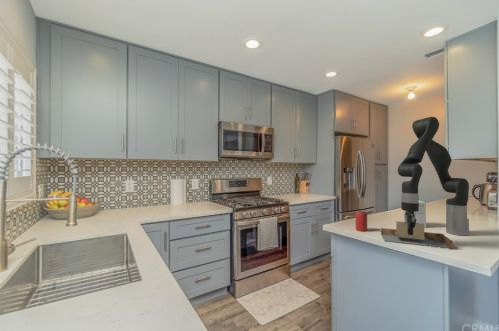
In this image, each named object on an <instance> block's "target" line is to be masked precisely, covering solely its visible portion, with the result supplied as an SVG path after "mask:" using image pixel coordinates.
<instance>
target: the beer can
mask: <svg viewBox="0 0 499 331" xmlns="http://www.w3.org/2000/svg"><path fill="white" fill-rule="evenodd" d="M355 230H356V231H359V232H367V231H368V214H367V211H366V210H359V209H358V210H356V212H355Z"/></svg>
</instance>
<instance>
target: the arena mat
mask: <svg viewBox="0 0 499 331" xmlns="http://www.w3.org/2000/svg"><path fill="white" fill-rule="evenodd" d="M380 236H381V237H382V239H383V241H384V242H387V243H396V244H403V245H413V246H422V247H430V246H431V248H438V247H440V249H441V248H442V249H447V248H448V247H447V246H446V245H445V244H443V243H442V242H441V241H440V240H431V239H424V240H423V239H413V238H404V237H397V236H392V235H382V234H381V233H380Z"/></svg>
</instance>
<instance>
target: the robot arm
mask: <svg viewBox="0 0 499 331" xmlns="http://www.w3.org/2000/svg"><path fill="white" fill-rule="evenodd" d="M439 128H440V121H439V119H438V118H437V117H435V116H429V117H424V118H421V119H417V120H414V121H413V122H412V130H413V133H414V135H415V136H416V138H417V140H416V141H415V142H414V143H413V144H412V145H411V146H410V148H409V150H408V152H407V155H406V157H404V159H403V160H402V162H400V164H399V165H398V167H397V174H398V176H400V177H404V178H411V179H410V180H408V181H402V182H401V197H400V198H401V199H400V200H401V201H400V202H401V204H400V205H401V210H402V211H406V213H405V214H404V213H403V218H404V217H405V222H407V223H408V226H407V227H408V235H413V228H415V224H416V219H415V215H414V212H415V211H416V212H417V211H419V201H420V197H419V184H420V181H421V177H422V175H423V167H422V165H421V164H420V163H422V161H423V160H424V157H425V156H424V155H425V153H427V154H426V155H427V156H428V158H429V161H430V162H431V164H432V166H433V168H434V170H435V172H436V174H437V177H438V179H439V182H440V185H441V187H442V190H444V191H445V192H446V193H449V194H450V193H451V194H455V196H454V197H451V198H447V199H446V200H445V223H446V224H445V229H446V230H445V231H446V233H448V234H450V235H454V236H455V235H456V236H470V219H469V218H468V202H469V192H470V184H469V181H468V179H466V178H462V177H452V176H451V175H450V172H449V169H450V167H451V164H452V156H451V154H450V152H449V151H448V149H447V148H446V147H445V146H443V145H442V144H440V143H439V142H437V141H435V140H434V137H435V136H436V134H437V132H438V131H439ZM411 224H412V225H411Z"/></svg>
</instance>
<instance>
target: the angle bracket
mask: <svg viewBox="0 0 499 331" xmlns="http://www.w3.org/2000/svg"><path fill="white" fill-rule="evenodd" d="M395 222H396V223H395V229H396V231H394V234H395V235H396V236H397V237H404V238H413V239H423V240H424V232H425V228H424V224H423V223H416V224H415V228H413V235H408V227H407V226H408V223H407V222H404V221H397V220H396V221H395ZM411 225H412V224H411Z"/></svg>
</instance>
